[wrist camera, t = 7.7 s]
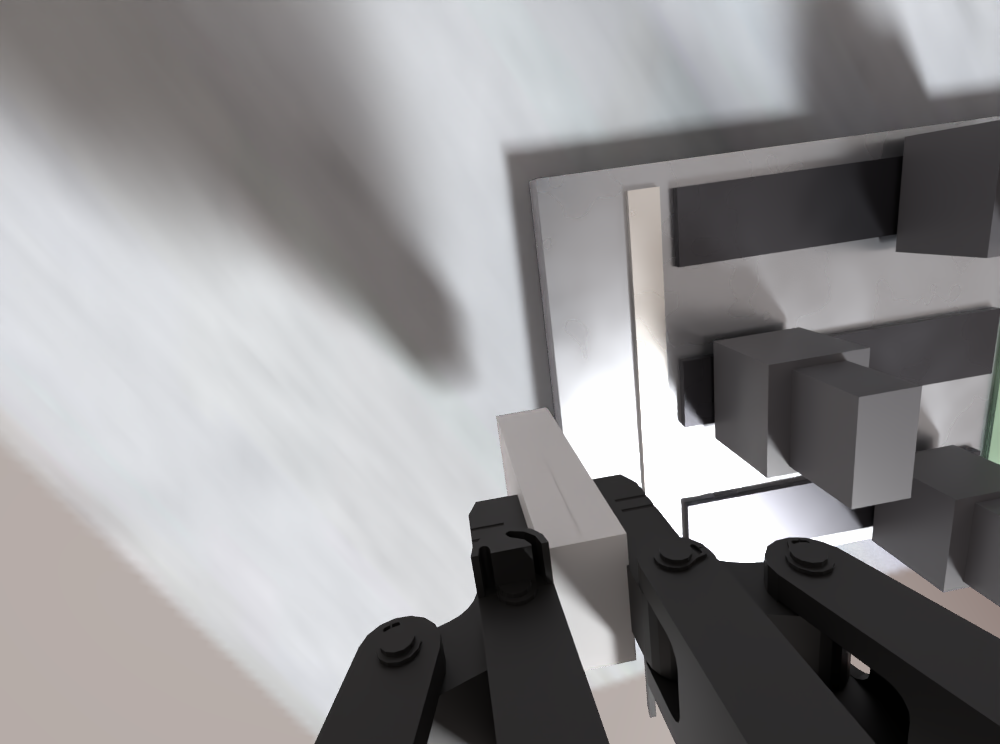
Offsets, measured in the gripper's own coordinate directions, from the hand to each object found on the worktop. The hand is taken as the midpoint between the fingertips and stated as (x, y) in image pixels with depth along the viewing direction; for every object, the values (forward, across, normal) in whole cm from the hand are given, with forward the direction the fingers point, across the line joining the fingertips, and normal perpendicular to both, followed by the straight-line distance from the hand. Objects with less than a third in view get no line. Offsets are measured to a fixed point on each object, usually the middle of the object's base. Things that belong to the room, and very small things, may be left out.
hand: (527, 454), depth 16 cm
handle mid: (+2, +8, 0) cm, 9 cm away
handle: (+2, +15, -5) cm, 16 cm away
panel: (+4, +12, 0) cm, 12 cm away
